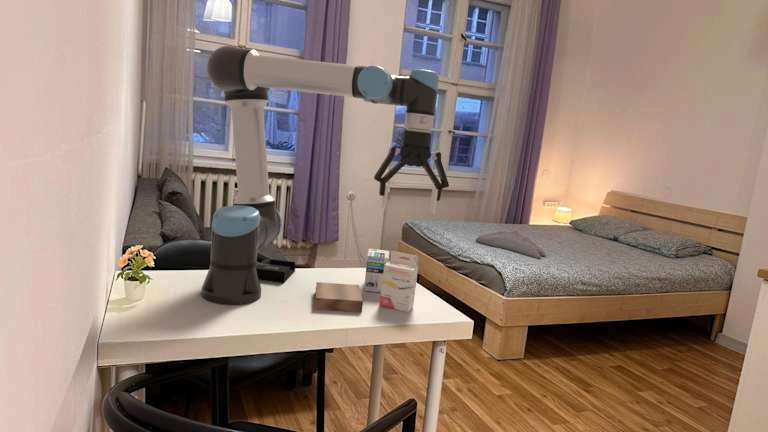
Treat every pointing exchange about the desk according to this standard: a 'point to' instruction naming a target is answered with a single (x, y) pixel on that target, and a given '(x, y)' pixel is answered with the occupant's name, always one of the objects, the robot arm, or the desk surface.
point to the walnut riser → (338, 297)
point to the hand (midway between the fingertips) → (408, 210)
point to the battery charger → (275, 270)
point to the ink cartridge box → (399, 282)
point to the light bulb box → (375, 269)
